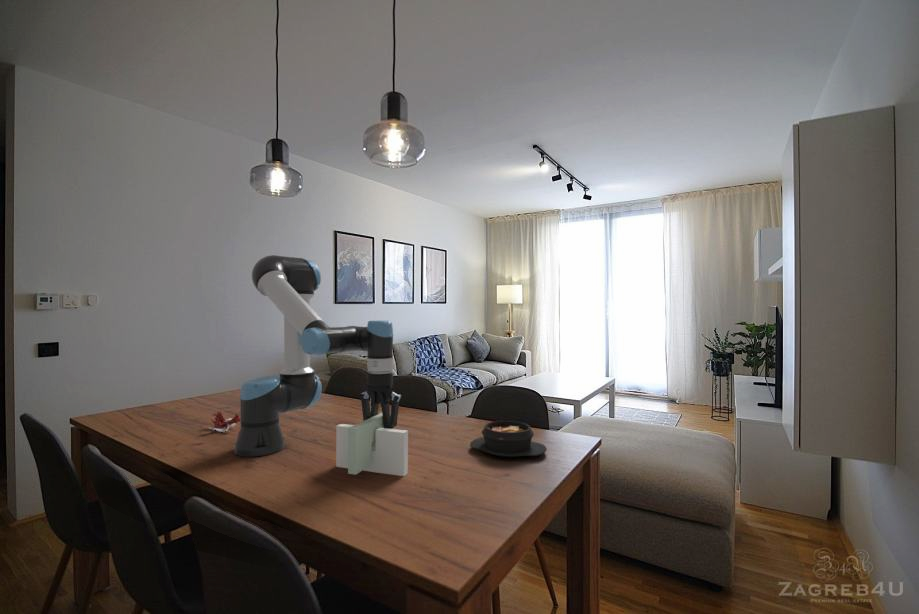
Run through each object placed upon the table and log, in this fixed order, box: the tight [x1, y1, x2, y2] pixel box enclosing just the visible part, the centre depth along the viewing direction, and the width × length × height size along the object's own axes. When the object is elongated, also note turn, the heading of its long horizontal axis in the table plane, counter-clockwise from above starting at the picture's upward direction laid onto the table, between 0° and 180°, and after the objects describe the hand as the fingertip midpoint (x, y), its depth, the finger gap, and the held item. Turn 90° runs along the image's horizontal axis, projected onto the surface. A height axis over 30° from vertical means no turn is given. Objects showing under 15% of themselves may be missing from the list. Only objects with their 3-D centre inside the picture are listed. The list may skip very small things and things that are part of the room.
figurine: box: [207, 410, 241, 433], centre depth 160 cm, size 15×12×7 cm
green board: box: [347, 411, 391, 475], centre depth 121 cm, size 20×2×12 cm, turn 162°
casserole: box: [469, 420, 547, 458], centre depth 137 cm, size 25×19×8 cm
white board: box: [335, 423, 409, 477], centre depth 121 cm, size 22×2×12 cm, turn 72°
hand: (380, 450), depth 126 cm, fingers closed on green board, 2 cm apart
